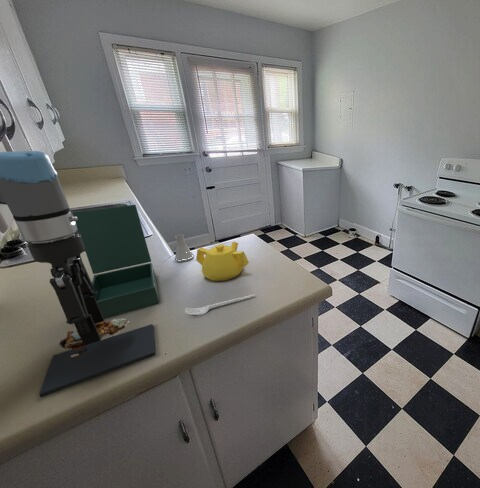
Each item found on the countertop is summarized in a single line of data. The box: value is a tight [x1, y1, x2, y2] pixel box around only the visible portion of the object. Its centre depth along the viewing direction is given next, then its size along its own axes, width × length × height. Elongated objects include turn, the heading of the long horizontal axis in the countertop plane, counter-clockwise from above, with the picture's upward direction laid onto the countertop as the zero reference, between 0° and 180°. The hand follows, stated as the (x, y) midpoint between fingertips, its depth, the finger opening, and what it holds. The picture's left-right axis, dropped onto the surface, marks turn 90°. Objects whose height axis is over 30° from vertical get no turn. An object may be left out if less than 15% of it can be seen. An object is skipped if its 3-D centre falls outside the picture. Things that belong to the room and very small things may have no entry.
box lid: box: [71, 204, 152, 275], centre depth 89 cm, size 20×16×1 cm
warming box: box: [91, 262, 160, 319], centre depth 85 cm, size 19×16×6 cm
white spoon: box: [183, 293, 256, 316], centre depth 81 cm, size 3×20×2 cm, turn 118°
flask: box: [174, 234, 195, 263], centre depth 109 cm, size 7×7×10 cm
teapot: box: [195, 241, 249, 282], centre depth 99 cm, size 20×18×11 cm
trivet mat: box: [38, 323, 157, 397], centre depth 63 cm, size 20×12×1 cm, turn 123°
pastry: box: [58, 318, 130, 358], centre depth 61 cm, size 7×12×4 cm, turn 153°
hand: (94, 331), depth 60 cm, fingers closed on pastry, 7 cm apart
